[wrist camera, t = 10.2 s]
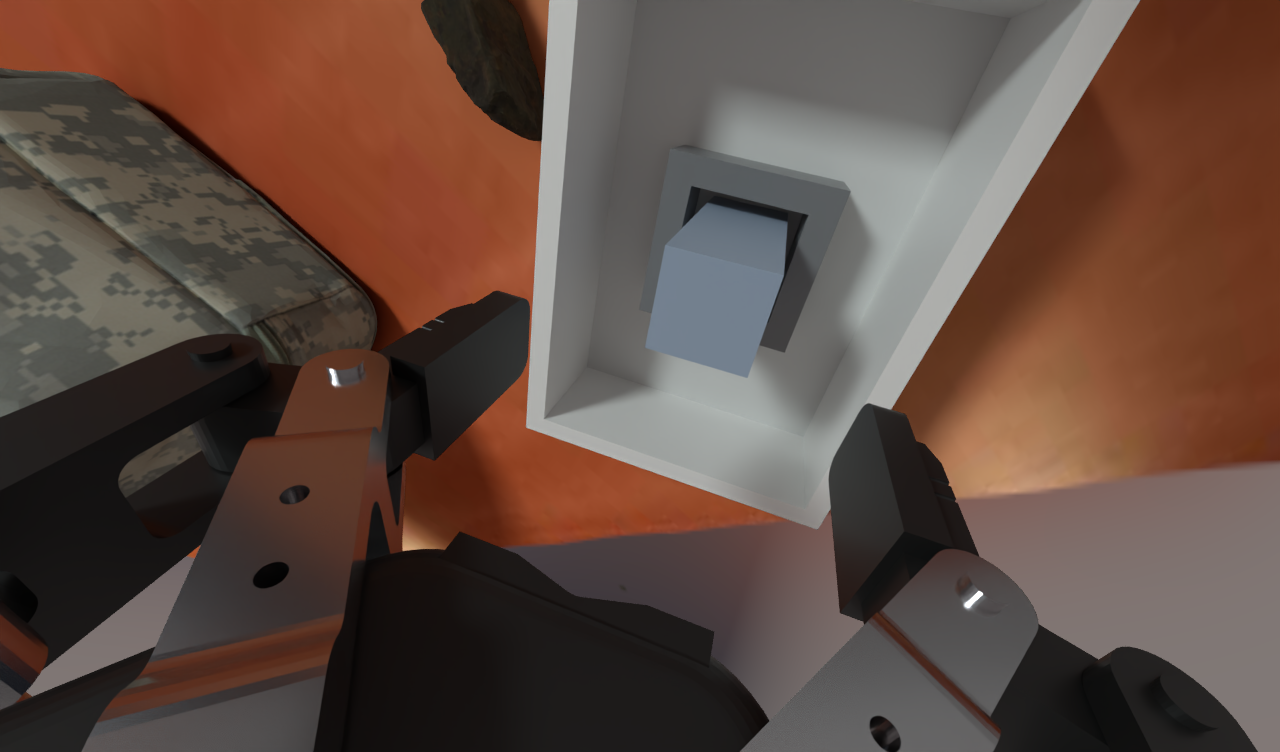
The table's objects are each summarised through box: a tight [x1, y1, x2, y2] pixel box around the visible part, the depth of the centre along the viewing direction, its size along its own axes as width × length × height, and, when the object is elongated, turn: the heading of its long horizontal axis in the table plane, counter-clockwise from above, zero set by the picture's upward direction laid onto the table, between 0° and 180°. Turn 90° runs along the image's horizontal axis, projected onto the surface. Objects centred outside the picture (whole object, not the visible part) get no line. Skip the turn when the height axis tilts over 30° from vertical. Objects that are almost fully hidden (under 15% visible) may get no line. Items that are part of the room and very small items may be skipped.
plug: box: [645, 196, 788, 378], centre depth 18 cm, size 4×4×10 cm
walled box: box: [526, 0, 1140, 530], centre depth 21 cm, size 22×16×7 cm
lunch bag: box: [0, 68, 377, 498], centre depth 26 cm, size 26×18×22 cm
